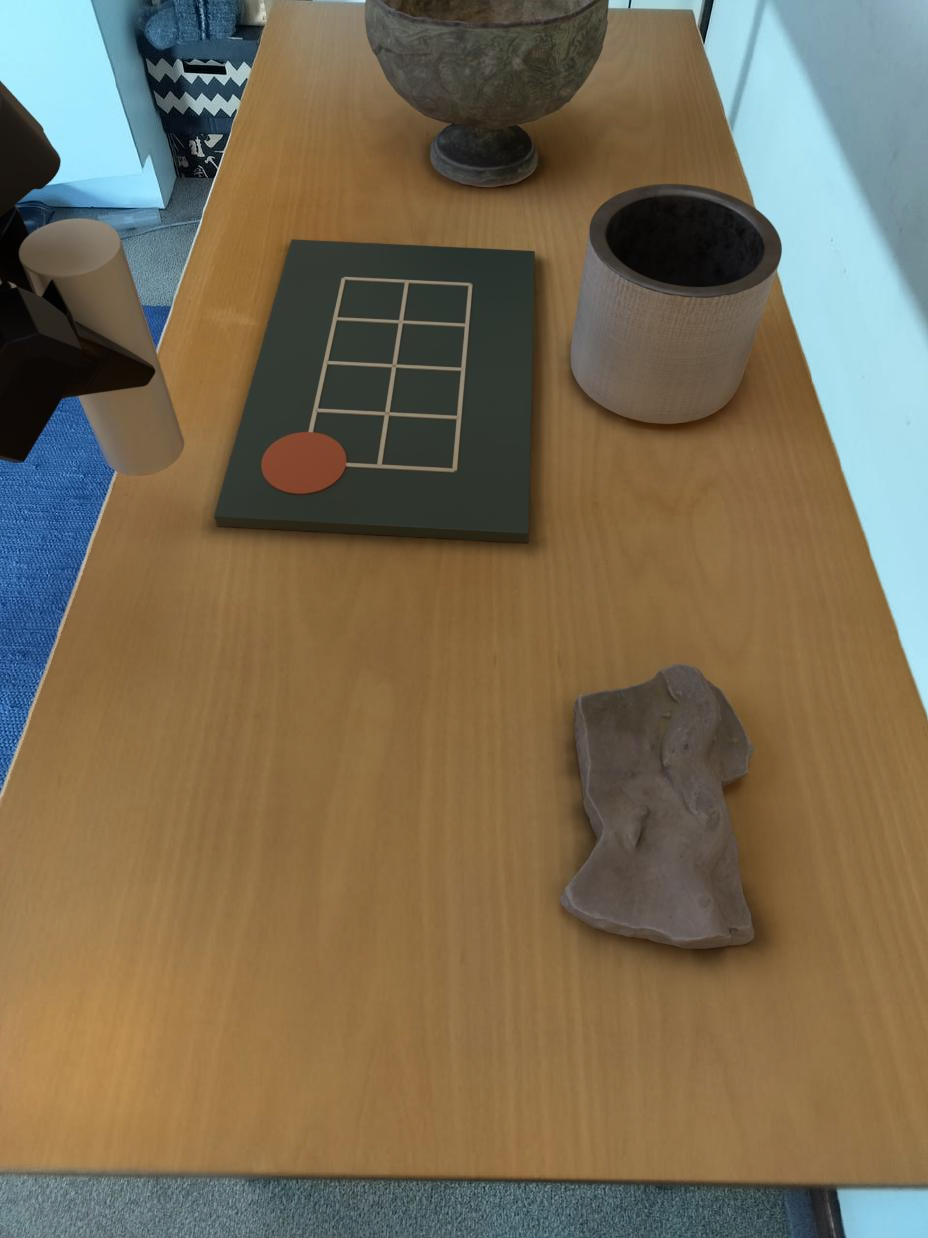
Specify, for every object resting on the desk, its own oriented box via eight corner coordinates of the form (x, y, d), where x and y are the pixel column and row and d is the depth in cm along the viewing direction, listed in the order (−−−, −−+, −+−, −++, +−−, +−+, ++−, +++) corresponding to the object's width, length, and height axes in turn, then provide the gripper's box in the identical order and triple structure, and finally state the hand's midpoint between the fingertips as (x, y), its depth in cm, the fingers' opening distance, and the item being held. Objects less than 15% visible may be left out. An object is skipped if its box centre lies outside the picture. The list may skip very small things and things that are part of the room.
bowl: (590, 108, 90) (613, -74, 77) (588, 221, 79) (614, 30, 66) (390, 96, 90) (381, -87, 78) (360, 206, 80) (345, 14, 67)
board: (216, 526, 59) (213, 514, 58) (292, 249, 76) (290, 237, 75) (527, 543, 58) (529, 531, 58) (534, 261, 75) (535, 248, 75)
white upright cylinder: (140, 488, 51) (61, 288, 41) (86, 452, 53) (-4, 250, 42) (201, 443, 54) (141, 241, 43) (147, 409, 55) (76, 206, 44)
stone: (758, 971, 44) (783, 947, 40) (556, 945, 44) (565, 920, 41) (742, 703, 52) (762, 665, 49) (573, 684, 53) (581, 645, 49)
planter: (760, 425, 65) (812, 289, 56) (586, 438, 64) (610, 302, 55) (711, 313, 72) (750, 176, 63) (554, 323, 71) (571, 185, 62)
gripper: (-84, 138, 28) (292, 326, 41) (-177, -74, 37) (154, 132, 50) (-211, 413, 33) (166, 508, 45) (-267, 163, 42) (59, 299, 54)
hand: (135, 349), depth 48 cm, fingers closed on white upright cylinder, 4 cm apart
